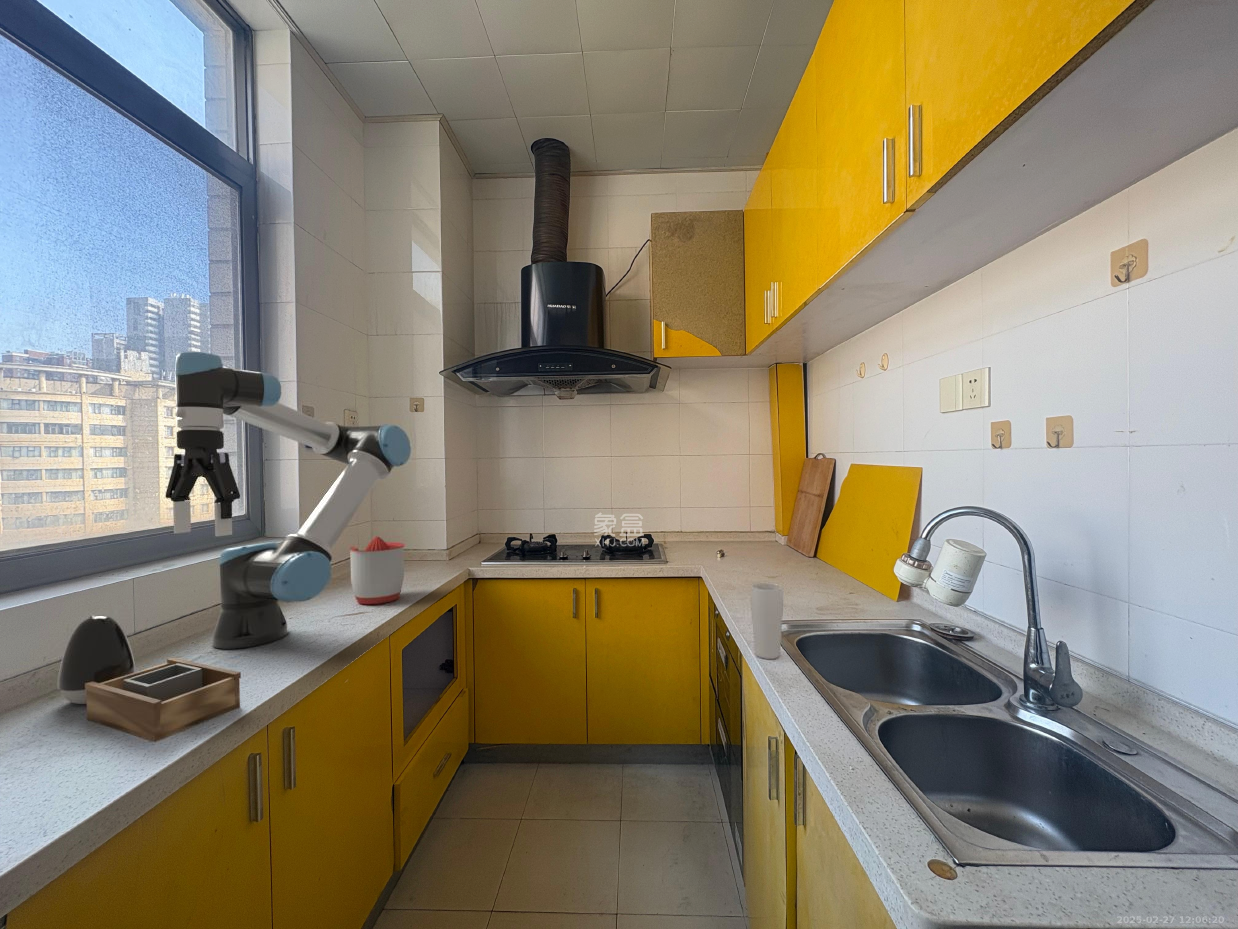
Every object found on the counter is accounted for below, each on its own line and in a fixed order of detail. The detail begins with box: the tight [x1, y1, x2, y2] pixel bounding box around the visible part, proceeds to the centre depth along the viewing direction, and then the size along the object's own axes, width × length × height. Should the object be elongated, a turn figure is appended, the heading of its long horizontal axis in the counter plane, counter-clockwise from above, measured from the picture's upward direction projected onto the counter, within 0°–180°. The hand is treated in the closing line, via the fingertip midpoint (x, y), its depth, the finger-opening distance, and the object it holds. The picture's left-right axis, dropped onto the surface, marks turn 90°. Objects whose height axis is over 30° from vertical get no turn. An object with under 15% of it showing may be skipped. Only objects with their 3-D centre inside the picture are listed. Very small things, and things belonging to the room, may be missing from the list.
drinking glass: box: [750, 582, 784, 660], centre depth 114 cm, size 7×7×15 cm
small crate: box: [123, 663, 202, 702], centre depth 91 cm, size 8×7×6 cm
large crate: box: [85, 657, 242, 743], centre depth 92 cm, size 13×20×6 cm, turn 67°
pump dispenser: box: [57, 615, 136, 705], centre depth 98 cm, size 10×10×15 cm
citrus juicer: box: [349, 536, 405, 605], centre depth 165 cm, size 16×17×20 cm
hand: (202, 534), depth 108 cm, fingers open, 13 cm apart
